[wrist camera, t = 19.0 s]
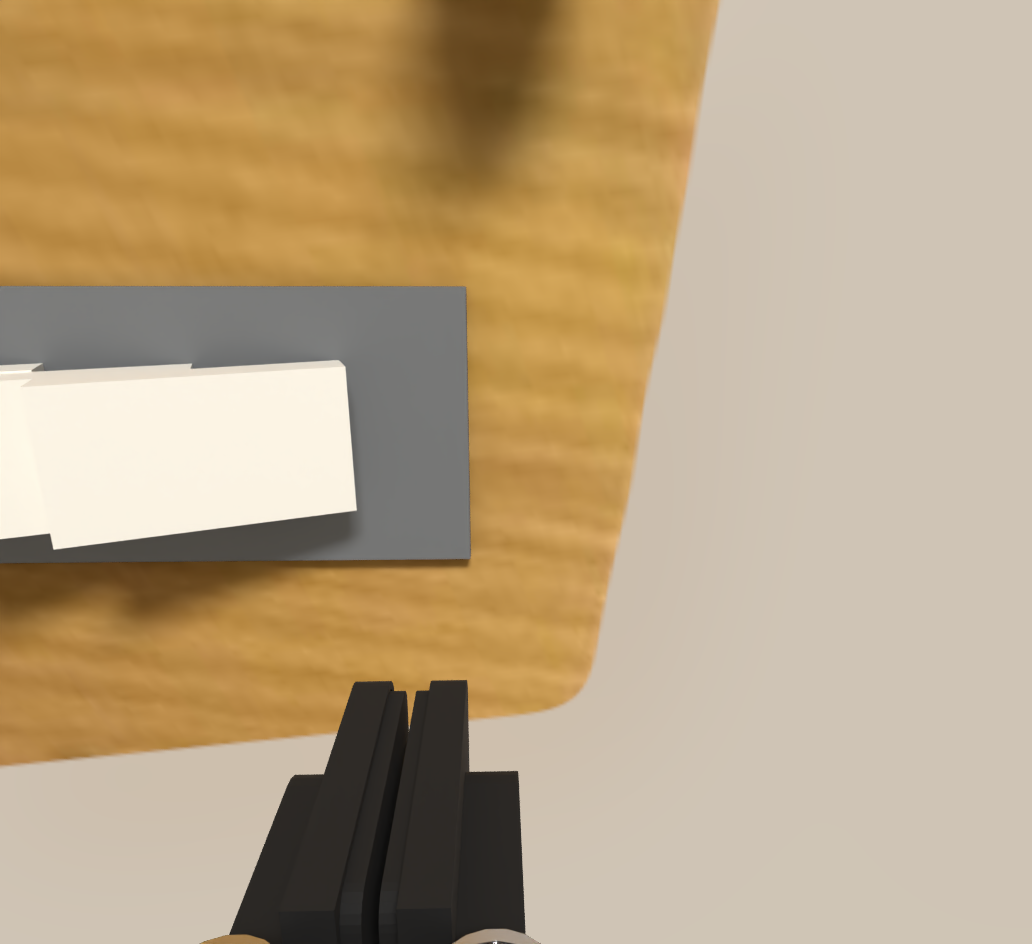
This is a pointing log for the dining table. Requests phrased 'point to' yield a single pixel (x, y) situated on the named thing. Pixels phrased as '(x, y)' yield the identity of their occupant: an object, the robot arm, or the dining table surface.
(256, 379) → the domino
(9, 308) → the mat
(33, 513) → the domino
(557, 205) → the dining table surface
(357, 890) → the robot arm
